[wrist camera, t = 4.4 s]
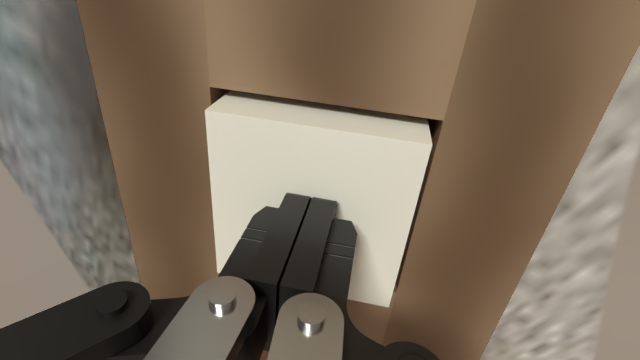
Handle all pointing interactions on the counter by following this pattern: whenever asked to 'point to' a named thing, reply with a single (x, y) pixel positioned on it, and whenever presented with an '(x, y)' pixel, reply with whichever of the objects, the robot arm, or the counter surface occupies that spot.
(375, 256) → the cream square block
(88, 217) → the counter surface
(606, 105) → the block
